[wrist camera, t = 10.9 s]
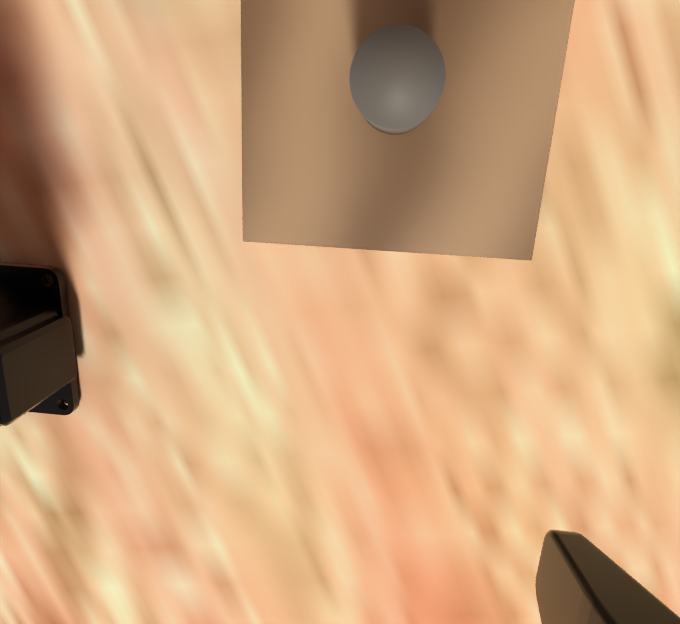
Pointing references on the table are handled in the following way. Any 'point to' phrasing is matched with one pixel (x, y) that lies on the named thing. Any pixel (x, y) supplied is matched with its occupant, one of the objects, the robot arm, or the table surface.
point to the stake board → (407, 174)
